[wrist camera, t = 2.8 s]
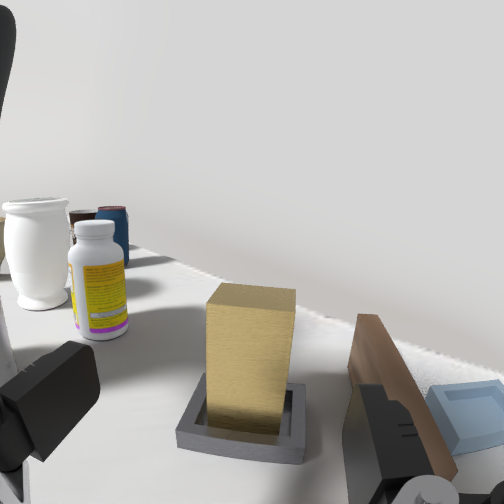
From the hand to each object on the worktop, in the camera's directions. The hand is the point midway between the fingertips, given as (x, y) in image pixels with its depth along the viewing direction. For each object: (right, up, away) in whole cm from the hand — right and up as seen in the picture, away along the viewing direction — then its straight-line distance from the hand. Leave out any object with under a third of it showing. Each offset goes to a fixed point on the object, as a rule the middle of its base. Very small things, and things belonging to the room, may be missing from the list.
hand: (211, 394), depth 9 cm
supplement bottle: (-17, -5, +26) cm, 32 cm away
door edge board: (+11, -10, +12) cm, 19 cm away
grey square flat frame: (+1, -9, +13) cm, 16 cm away
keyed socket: (+21, -11, +11) cm, 26 cm away
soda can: (-27, +1, +53) cm, 60 cm away
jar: (-30, -3, +32) cm, 44 cm away
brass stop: (+1, -8, +13) cm, 16 cm away
